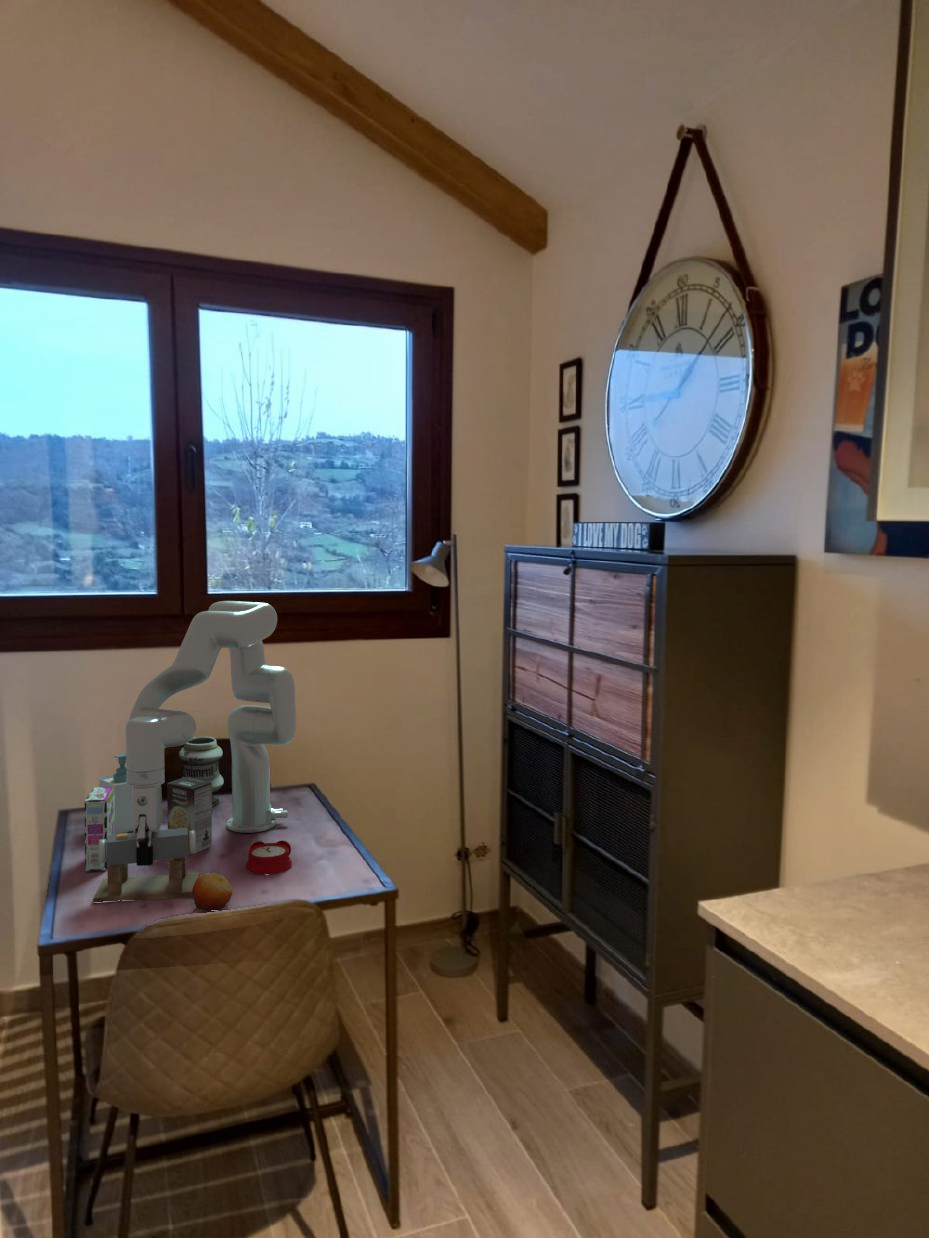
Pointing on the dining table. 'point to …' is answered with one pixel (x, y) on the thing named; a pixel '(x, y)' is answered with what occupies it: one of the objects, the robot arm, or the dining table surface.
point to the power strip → (163, 843)
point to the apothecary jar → (202, 762)
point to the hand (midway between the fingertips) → (147, 859)
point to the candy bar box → (98, 824)
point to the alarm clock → (268, 857)
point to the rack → (146, 884)
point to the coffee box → (191, 809)
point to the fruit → (211, 892)
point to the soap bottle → (120, 796)
